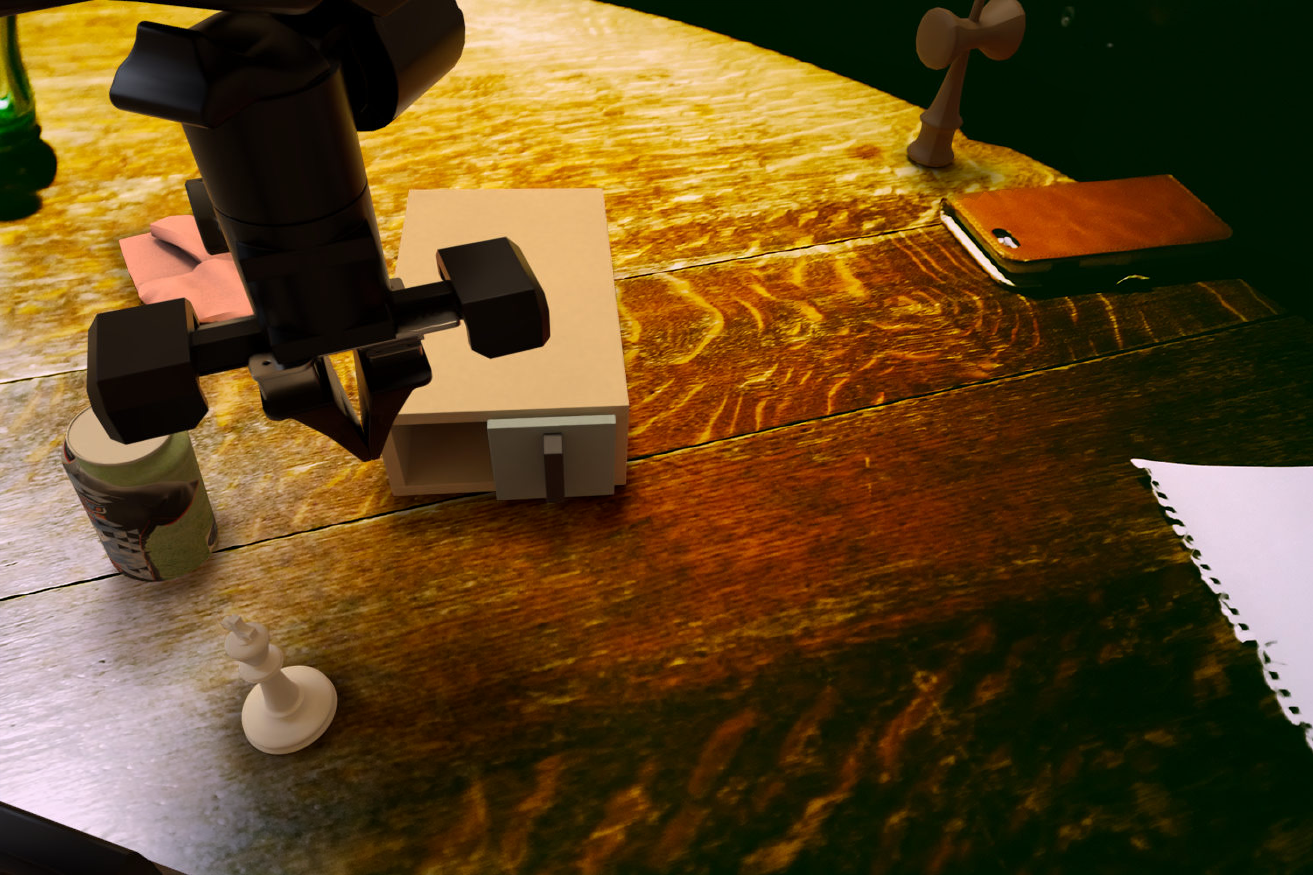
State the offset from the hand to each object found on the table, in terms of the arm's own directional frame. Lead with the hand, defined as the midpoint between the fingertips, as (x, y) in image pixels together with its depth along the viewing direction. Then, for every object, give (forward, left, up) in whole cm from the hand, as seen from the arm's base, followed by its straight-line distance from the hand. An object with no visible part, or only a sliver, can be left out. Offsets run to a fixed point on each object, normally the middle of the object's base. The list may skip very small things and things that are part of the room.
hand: (370, 454), depth 43 cm
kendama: (+52, -52, -12) cm, 75 cm away
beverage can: (+3, +14, -12) cm, 19 cm away
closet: (+20, -6, -12) cm, 24 cm away
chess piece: (-8, +6, -12) cm, 16 cm away
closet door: (+5, -9, -12) cm, 16 cm away
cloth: (+37, +18, -12) cm, 43 cm away
